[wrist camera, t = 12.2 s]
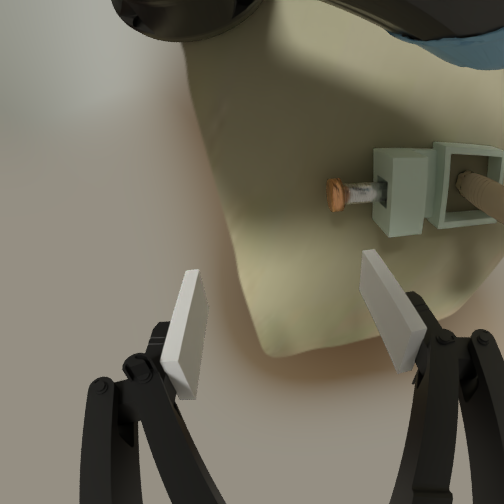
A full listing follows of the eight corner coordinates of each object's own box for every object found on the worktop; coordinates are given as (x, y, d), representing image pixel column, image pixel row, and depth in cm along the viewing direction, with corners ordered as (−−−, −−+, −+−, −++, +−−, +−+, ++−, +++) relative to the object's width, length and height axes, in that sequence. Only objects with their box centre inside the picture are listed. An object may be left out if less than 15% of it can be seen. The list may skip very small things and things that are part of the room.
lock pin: (325, 175, 28) (334, 184, 26) (389, 171, 28) (402, 180, 25) (326, 205, 30) (334, 217, 27) (387, 200, 30) (400, 211, 27)
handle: (451, 156, 28) (543, 203, 14) (484, 170, 28) (568, 218, 15) (440, 194, 30) (524, 256, 17) (474, 204, 30) (551, 262, 17)
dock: (373, 140, 27) (393, 149, 23) (493, 146, 26) (517, 155, 22) (371, 225, 32) (387, 244, 28) (485, 215, 31) (505, 230, 27)
